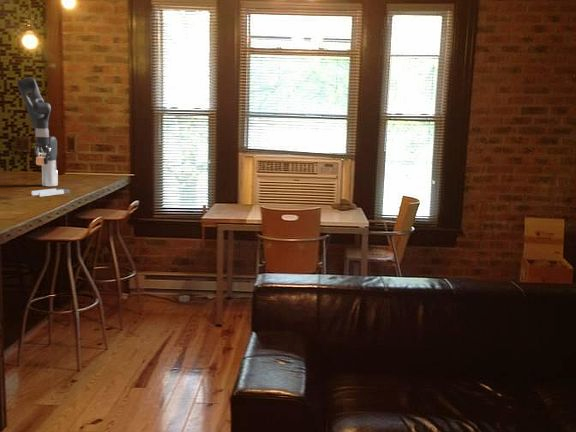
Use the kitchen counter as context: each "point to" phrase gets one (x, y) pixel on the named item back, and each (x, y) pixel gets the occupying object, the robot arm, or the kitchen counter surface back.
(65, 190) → the tray
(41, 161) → the block
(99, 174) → the kitchen counter surface
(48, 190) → the channel
